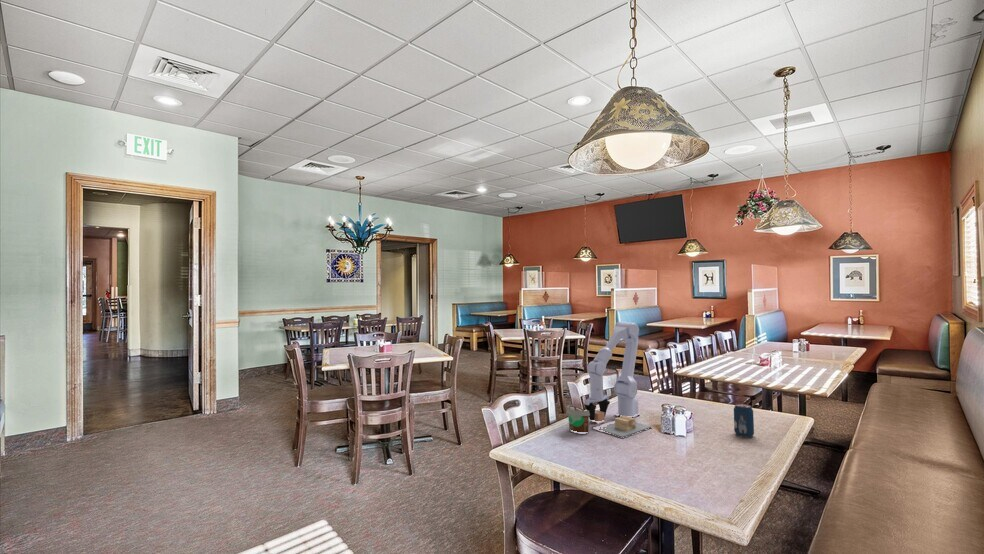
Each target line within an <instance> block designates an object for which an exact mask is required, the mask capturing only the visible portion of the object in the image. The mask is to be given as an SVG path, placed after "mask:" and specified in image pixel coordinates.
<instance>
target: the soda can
mask: <svg viewBox="0 0 984 554" xmlns="http://www.w3.org/2000/svg"><path fill="white" fill-rule="evenodd" d="M754 419H755V418H754V409H753V408H752V405H750V404H747V403H735V405H734V407H733V429H734V430H733V431H734V433H735V435H736V436H737V435H738V437H740V436H741V438H745V437H750V438H752V437H753V436H754V434H755V424H754V423H755V422H754V421H755V420H754Z"/></svg>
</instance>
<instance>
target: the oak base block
mask: <svg viewBox="0 0 984 554" xmlns="http://www.w3.org/2000/svg"><path fill="white" fill-rule="evenodd" d="M614 420H615V428H618V429H622V430H625V431H629V430H632V429H635V428H636V421H637V420H636V417H633V418H631V417H627V416H621V417H618V416H616V417H615V418H614Z"/></svg>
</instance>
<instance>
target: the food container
mask: <svg viewBox="0 0 984 554" xmlns="http://www.w3.org/2000/svg"><path fill="white" fill-rule="evenodd" d="M566 414H567V415H568V416H567V417H568V425H569V430H570V429H571V430H573V431H577V432H588V433H589V425H590V424H589V421H590V418H589V416H590V413H589V410H587V409H586V410H583V408H582V407H581V408H580V407H576V406H574V404H573V403H572V404H569V405H567V407H566Z"/></svg>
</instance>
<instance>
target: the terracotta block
mask: <svg viewBox="0 0 984 554" xmlns="http://www.w3.org/2000/svg"><path fill="white" fill-rule="evenodd" d="M605 419H606V415H605V412H602V411H600V410H596V409H595V418H594V420H595V421H602V420H605ZM605 421H606V420H605Z"/></svg>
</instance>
